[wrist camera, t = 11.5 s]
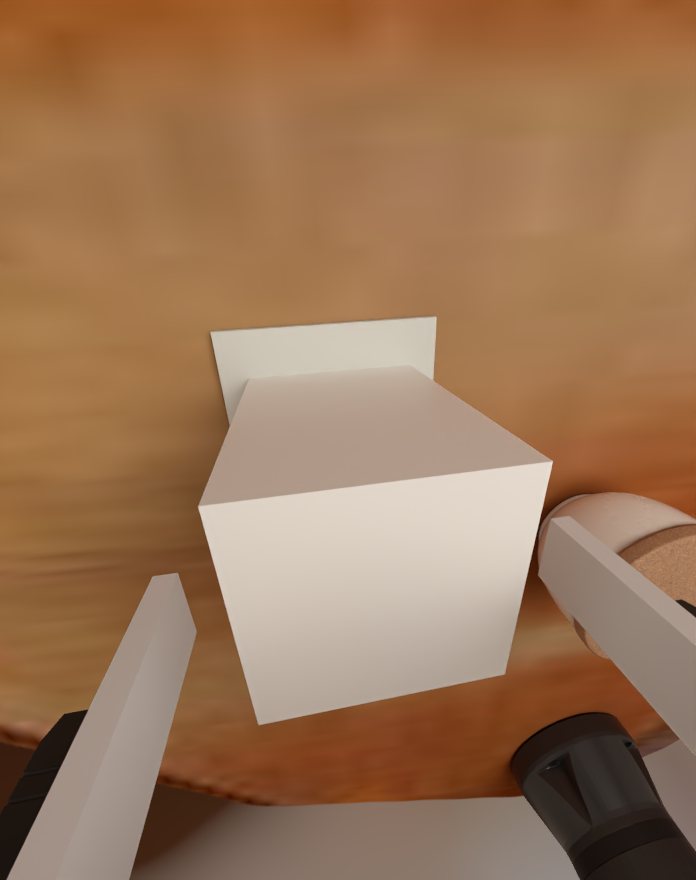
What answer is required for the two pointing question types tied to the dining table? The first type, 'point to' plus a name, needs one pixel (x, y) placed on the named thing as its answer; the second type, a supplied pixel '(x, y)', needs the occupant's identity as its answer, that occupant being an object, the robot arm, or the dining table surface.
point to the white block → (368, 538)
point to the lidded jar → (634, 542)
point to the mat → (320, 350)
